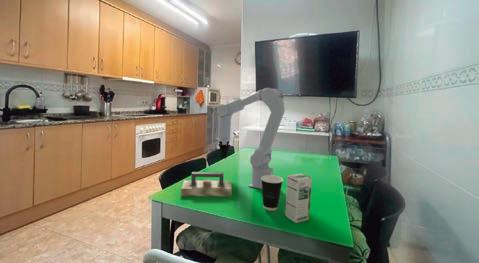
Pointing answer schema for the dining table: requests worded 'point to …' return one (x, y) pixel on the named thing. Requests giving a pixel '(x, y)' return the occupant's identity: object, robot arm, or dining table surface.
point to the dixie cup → (271, 191)
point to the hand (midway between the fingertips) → (223, 156)
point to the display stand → (206, 188)
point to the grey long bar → (207, 174)
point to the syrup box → (298, 197)
